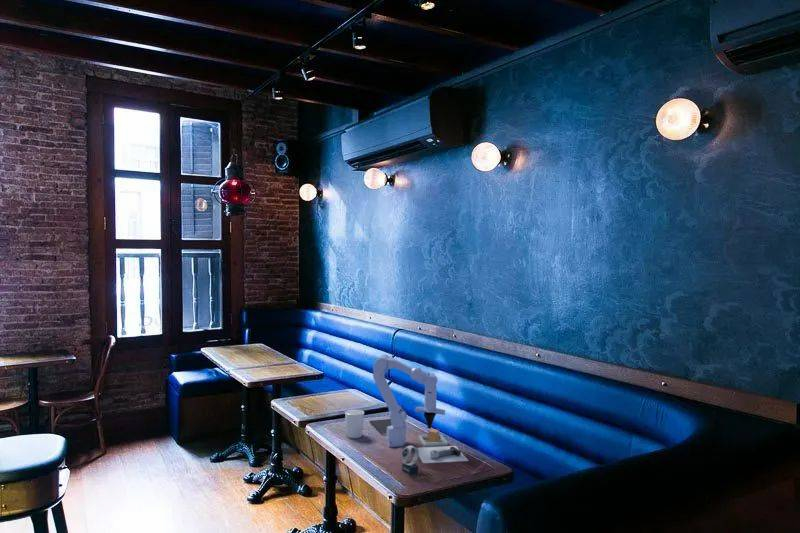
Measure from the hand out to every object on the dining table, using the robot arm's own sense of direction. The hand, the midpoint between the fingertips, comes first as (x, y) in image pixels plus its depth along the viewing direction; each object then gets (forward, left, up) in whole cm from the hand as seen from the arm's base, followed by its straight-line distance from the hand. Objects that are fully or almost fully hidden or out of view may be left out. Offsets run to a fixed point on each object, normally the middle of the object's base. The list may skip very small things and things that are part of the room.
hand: (429, 427), depth 264 cm
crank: (+3, -15, -8) cm, 18 cm away
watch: (-16, -28, -10) cm, 34 cm away
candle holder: (-34, +21, -10) cm, 41 cm away
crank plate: (+2, -12, -9) cm, 16 cm away
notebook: (-15, +31, -10) cm, 36 cm away
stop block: (+3, +4, -9) cm, 10 cm away
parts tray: (+3, +4, -9) cm, 11 cm away
